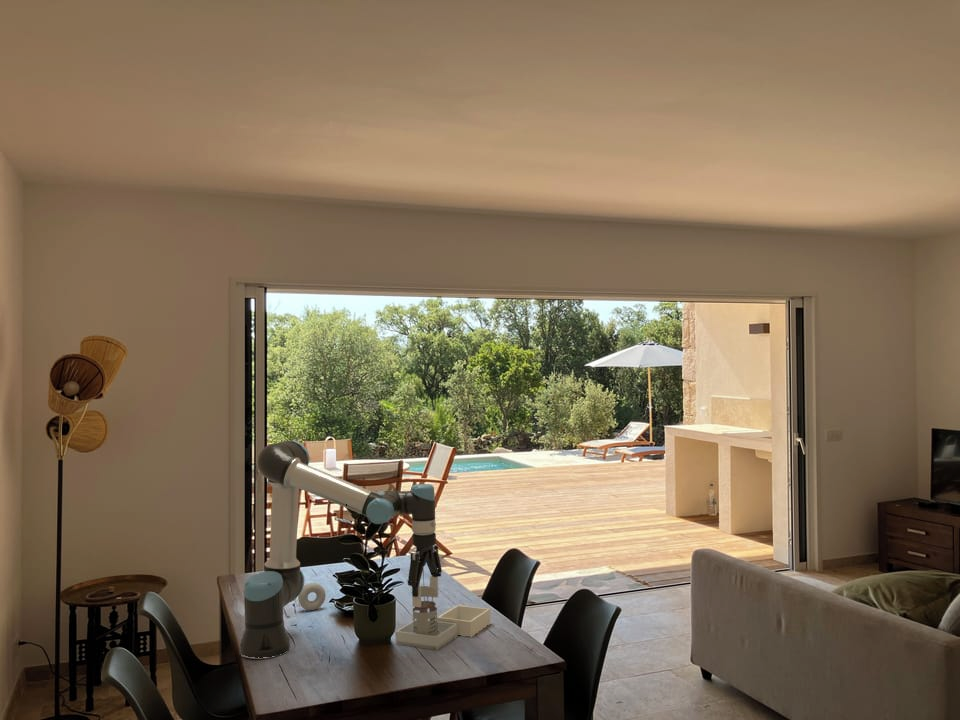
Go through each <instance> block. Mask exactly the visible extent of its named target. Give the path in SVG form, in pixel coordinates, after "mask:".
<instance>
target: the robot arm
mask: <svg viewBox="0 0 960 720" xmlns="http://www.w3.org/2000/svg"><path fill="white" fill-rule="evenodd" d="M256 464H257V468H258V471H259V472H260V473H261V475H262V476H263V477H264V478H265V479H267V483H269V485H270V486H271V489H272V490H271V491H272V492H271V509H270V510H271V515H270V516H271V517H270V537H269V542H270V543H269V558H268V560H266V561H265V562H264V568H263V571H261V572H259V573H254V574H252V575H250V576H249V577H247V578H246V580H245V582H244V585H243V586H244V587H243V588H244V589H243V597H244V599H243V601H244V631H243V634H242V638H241V642H240V644H239V655H240V654H242V655H245V656H248V657H255V658H258V657H259V658H263V657H272V656H276V655H279V656H281V655H280V654H282V655H284V654H286V653H287V652H289V650H290V649H289V648H290V644H291V643H290V639H289V637H288V635H287V631H286V628H285V625H284V624H285V623H284V607H286V606H287V605H288V604H289V603H291V602H293V601H295V600H296V599H298V597H299V594H300V593H301V591H302V589H303V587H304V586H305V575H304V572H303V571H302V570H301V562H300V561H299V560H298V558H297V544H298V543H297V542H298V541H297V539H298V537H297V536H298V515H299V496H300V495H299V494H300V492H299V491H300V490H302V491H304V492H308V493H309V494H311V495H315V496H317V497H320V498H321V499H324V500H326V501H329V502H332V503H334V504H337V505H338V506H340V507H344V508H347V509H349V510H351V511H352V512H353V511H354V512H355V513H358V514H360V515H363V516H364V517H367V518H368V520H369V521H370V523H373V524H374V525H383V524H385V523H387V522H389V521H390V520H391V519H392V518H394V517H395V516H396V515H411V527H412V529H411V531H412V545H413V546H414V547H416V548H415V552H411V553H410V564H409V570H408V571H409V572H408V577H407V585H408V586H409V587H411V594H412V595H411V596H412V607H413V608H415V607H421V601H422V597H421V585H420V584H421V583H420V582H421V578H422V576H423V568H424V567H425V566H427V569H428V570H429V573H430V576H429V587H432V588H434V589H435V590H437V592H436V594H434V595H431V596H430V597H429V598H432V596H433V598H439V577H442V573H443V572H442V570H443V569H442V565H441V559H440V554H439V545H436V543H437V534H436V529H437V528H436V526H437V524H436V495H435V494H436V493H435V487H434V486H433V485H432V484H429V483H417V484H413V485H411V489H410V490H384V491H383V490H381V491H377V492H373V491H371V490H369V489H366V488H364V487H361V486H360V485H357V484H355V483H352V482H349V481H347V480H345V479H342V478H341V477H338V476H335V475H333V474H330V473H328V472H325V471H323V470H321V469H318V468H315V467H313V466H311V465H309V464H310V453H309V451H308V449H307V447H305V445H304V444H303V443H301V442H298V441H296V440H283V441H279V442H276V443H270V444H268V445H266V446H265V447H264V448H262V449H261V451H260V452H259V454H258V456H257V463H256ZM299 489H300V490H299ZM346 504H347V506H346ZM286 651H287V652H286ZM285 652H286V653H285ZM283 653H284V654H283ZM276 657H277V656H276ZM272 658H273V657H272Z"/></svg>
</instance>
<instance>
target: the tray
mask: <svg viewBox="0 0 960 720" xmlns="http://www.w3.org/2000/svg"><path fill="white" fill-rule="evenodd" d="M414 621H416V619H414ZM428 621H430V619H428ZM416 624H417V623H415V624H414V625H416ZM436 624H437V625H438V631H439V632H440V633H441V634H439V635H438V636H431V635H424V634H416V633H412V632H413V627H414V625H413V620H412V621H411V622H409V623H407V624H405V625H404V626H402V627H400V628H399V629H396V630H395V634H394V635H395V645H399V644H400V646H408V647H413V648H421V649H426V650H433V651H439V650H440V649H441V648H443V647H444V646H445V645H448V644H449V643H450V642H451V640H452V641H453V640H454V639H456V638H457V637H458V628H457V624H455V623H447V622H439V621H437V623H436ZM428 625H430V623H428ZM455 637H456V638H455Z"/></svg>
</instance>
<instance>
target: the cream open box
mask: <svg viewBox="0 0 960 720" xmlns="http://www.w3.org/2000/svg"><path fill="white" fill-rule="evenodd" d="M436 620H437V621H439V622H447V623H455V624H457V628H458V635H462V636H461V637H465V636H470V637H469V638H473V637H474V636H476V635H477V634H479V633H480V632H481V631H483V630H484V629H485V628H487V627H488V626H489V625H491V624H490V623H491V608H485V607H476V606H467V605H461V604H460V605H459V604H457V605H455V606H453V607H452V608H451V609H449V610H447V611H445V612H444V613H442V614H441V615H439V616H437V619H436ZM487 625H488V626H487ZM486 626H487V627H486ZM483 628H484V629H483ZM480 630H481V631H480ZM479 631H480V632H479ZM476 633H477V634H476ZM475 634H476V635H475ZM473 635H474V636H473ZM472 636H473V637H472Z"/></svg>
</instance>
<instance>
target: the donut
mask: <svg viewBox="0 0 960 720" xmlns="http://www.w3.org/2000/svg"><path fill="white" fill-rule="evenodd" d="M311 593H314V594H315V596H316V597H315V599H313V600H309V599H308V597H309V595H310V594H311ZM297 599H298V603H299V605H300V607H302V609H304V610H306V611H310V610H313V611H316V610H318V609H319V608H321V606H322V605H324V603H325V601H326V591H325V588H324V587H323V586H322V585H321V584H319V583H316V582H310V583H307V584H306V585H305V584H304V587H303V589H302V591H301V593H300V594H299V595H298V597H297ZM315 609H316V610H315Z"/></svg>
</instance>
